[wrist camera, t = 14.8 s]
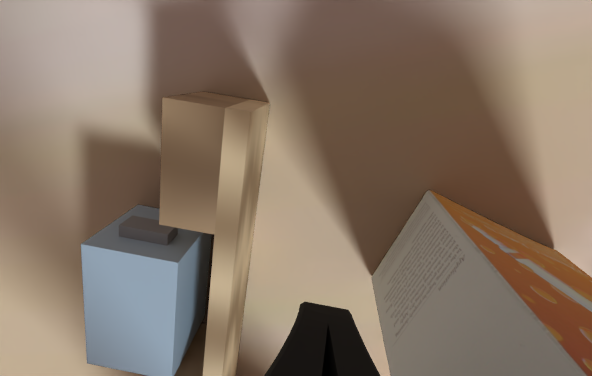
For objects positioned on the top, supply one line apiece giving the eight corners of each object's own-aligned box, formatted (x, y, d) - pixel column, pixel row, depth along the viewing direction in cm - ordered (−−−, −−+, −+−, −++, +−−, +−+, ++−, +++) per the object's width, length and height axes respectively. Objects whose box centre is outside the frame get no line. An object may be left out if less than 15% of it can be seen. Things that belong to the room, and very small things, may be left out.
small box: (558, 248, 19) (1008, 594, 6) (487, 332, 21) (720, 717, 8) (426, 184, 18) (629, 419, 6) (367, 276, 20) (424, 594, 8)
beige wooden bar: (230, 414, 25) (210, 484, 20) (183, 404, 25) (153, 472, 21) (269, 102, 18) (250, 112, 13) (202, 91, 18) (162, 97, 13)
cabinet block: (204, 315, 22) (171, 380, 18) (137, 302, 22) (86, 363, 18) (214, 208, 20) (178, 251, 15) (139, 194, 20) (80, 232, 15)
